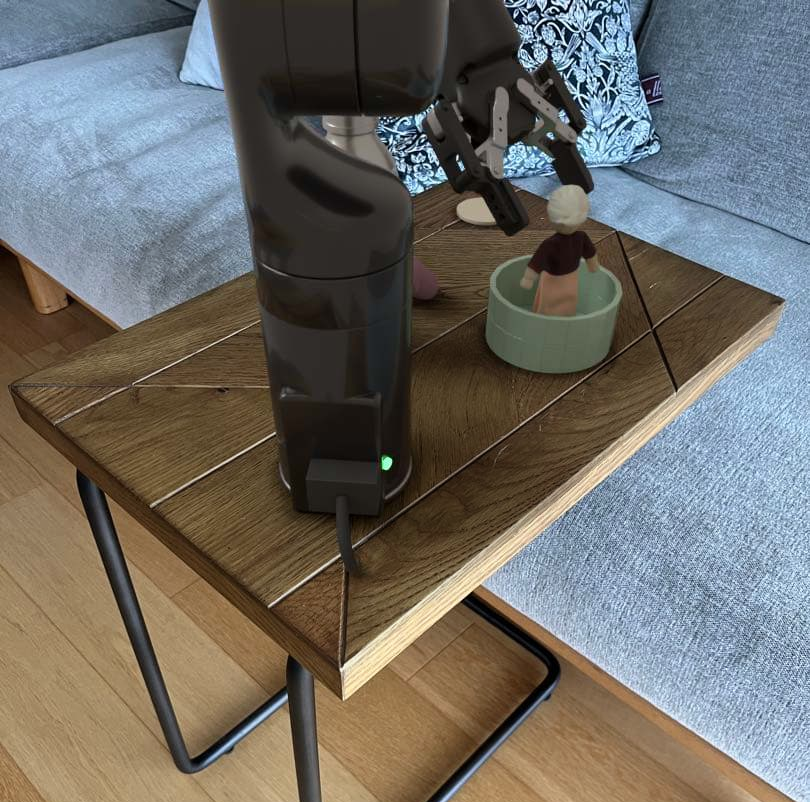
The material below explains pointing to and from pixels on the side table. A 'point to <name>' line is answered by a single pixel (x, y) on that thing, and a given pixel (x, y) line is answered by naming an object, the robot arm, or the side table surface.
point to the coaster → (475, 212)
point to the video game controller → (423, 281)
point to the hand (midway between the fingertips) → (553, 212)
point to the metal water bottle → (359, 139)
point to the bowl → (551, 321)
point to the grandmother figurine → (561, 254)
